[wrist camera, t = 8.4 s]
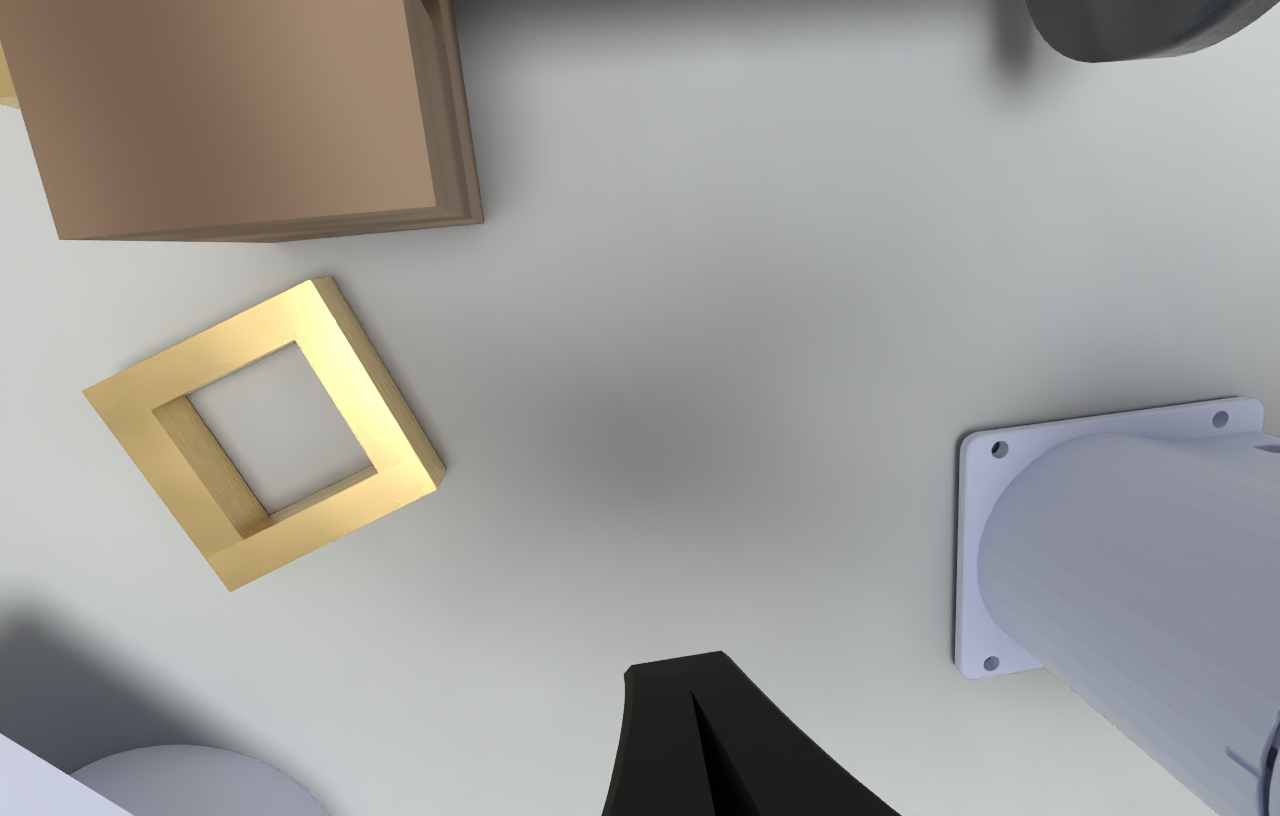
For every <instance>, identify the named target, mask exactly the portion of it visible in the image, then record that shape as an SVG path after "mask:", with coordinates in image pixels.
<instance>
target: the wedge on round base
mask: <svg viewBox="0 0 1280 816" xmlns="http://www.w3.org/2000/svg"><path fill="white" fill-rule="evenodd" d="M0 816H329V815H328V813H327V812H326V810H325V809H324V808H323V806H322V805H321V804H320V802H319V801H318V800H317V799H316V798H315V797H314V796H313V795H312V794H311V793H310V792H309V791H308V790H307V789H306V788H304V787H303V786H302V785H300V784H299V783H298V782H297V781H295V780H294V779H293V778H291V777H290V776H288V775H287V774H285V773H283V772H281V771H280V770H278V769H276V768H275V767H273V766H271V765H269V764H266V763H264V762H262V761H259V760H257V759H255V758H252V757H249V756H246V755H243V754H239V753H236V752H233V751H229V750H224V749H219V748H213V747H208V746H196V745H158V746H151V747H144V748H137V749H132V750H129V751H125V752H121V753H117V754H113V755H110V756H108V757H105V758H103V759H100V760H98V761H95V762H92V763H90V764H88V765H87V766H85V767H83V768H81V769H79V770H77V771H75V772H74V773H72V774H70V775H67V774H66V773H64V772H62V771H61V770H59V769H57V768H56V767H54V766H53V765H51V764H49V763H48V762H46V761H44V760H43V759H41V758H40V757H38V756H36V755H35V754H33V753H31V752H30V751H28V750H27V749H25V748H23V747H22V746H20V745H18V744H17V743H15V742H14V741H12V740H10V739H9V738H7V737H5V736H4V735H2V734H1V733H0Z"/></svg>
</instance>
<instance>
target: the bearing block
mask: <svg viewBox="0 0 1280 816" xmlns="http://www.w3.org/2000/svg"><path fill="white" fill-rule="evenodd" d="M0 41H1V45H2V48H3V52H4V55H5V58H6V62H7V65H8V68H9V72H10V75H11V78H12V82H13V85H14V89H15V92H16V95H17V99H18V102H19V105H20V109H21V112H22V116H23V119H24V122H25V126H26V129H27V132H28V136H29V139H30V142H31V146H32V149H33V153H34V156H35V159H36V163H37V166H38V169H39V173H40V176H41V180H42V183H43V186H44V190H45V193H46V196H47V200H48V203H49V207H50V210H51V213H52V217H53V220H54V223H55V227H56V230H57V233H58V237H59V240H113V241H182V242H251V243H276V242H287V241H297V240H308V239H319V238H330V237H341V236H352V235H362V234H373V233H384V232H395V231H406V230H417V229H427V228H438V227H449V226H460V225H471V224H482V223H484V218H483V211H482V204H481V197H480V190H479V183H478V176H477V170H476V163H475V156H474V149H473V142H472V135H471V128H470V121H469V114H468V108H467V101H466V94H465V87H464V80H463V73H462V66H461V59H460V53H459V46H458V39H457V32H456V25H455V18H454V11H453V4H452V0H0Z"/></svg>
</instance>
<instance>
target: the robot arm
mask: <svg viewBox="0 0 1280 816" xmlns="http://www.w3.org/2000/svg"><path fill="white" fill-rule="evenodd" d="M1215 415H1216V416H1215ZM1214 416H1215V419H1214V420H1213V418H1214ZM1263 419H1264V406H1263V404H1262V403H1261V402H1260V401H1259V400H1257V399H1254V398H1249V397H1234V398H1227V399H1219V400H1212V401H1204V402H1197V403H1189V404H1182V405H1175V406H1167V407H1160V408H1152V409H1145V410H1137V411H1130V412H1122V413H1115V414H1107V415H1100V416H1092V417H1085V418H1077V419H1070V420H1062V421H1055V422H1047V423H1040V424H1032V425H1025V426H1017V427H1010V428H1002V429H995V430H987V431H980V432H975V433H972V434H970V435H969V436H967V437H966V438H965V439H964V441H963V442H962V444H961V448H960V470H959V511H958V553H957V594H956V636H955V665H956V668H957V669H958V671H959V672H960V673H961V674H962V675H963V676H964V677H966V678H968V679H980V678H985V677H991V676H997V675H1003V674H1008V673H1014V672H1020V671H1026V670H1031V669H1037V668H1043V667H1045V668H1047V669H1048V670H1049V671H1050V672H1051V673H1052V674H1054V675H1055V676H1056V677H1057V678H1058V679H1060V680H1061V681H1062V682H1063V683H1064V684H1065V685H1067V686H1068V687H1069V688H1070V689H1071V690H1072V691H1074V692H1075V693H1076V694H1077V695H1078V696H1080V697H1081V698H1082V699H1083V700H1084V701H1085V702H1087V703H1088V704H1089V705H1090V706H1091V707H1092V708H1094V709H1095V710H1096V711H1097V712H1098V713H1100V714H1101V715H1102V716H1103V717H1104V718H1105V719H1107V720H1108V721H1109V722H1110V723H1111V724H1112V725H1114V726H1115V727H1116V728H1117V729H1118V730H1120V731H1121V732H1122V733H1123V734H1124V735H1125V736H1127V737H1128V738H1129V739H1130V740H1131V741H1132V742H1134V743H1135V744H1136V745H1137V746H1138V747H1140V748H1141V749H1142V750H1143V751H1144V752H1145V753H1147V754H1148V755H1149V756H1150V757H1151V758H1152V759H1154V760H1155V761H1156V762H1157V763H1158V764H1160V765H1161V766H1162V767H1163V768H1164V769H1165V770H1167V771H1168V772H1169V773H1170V774H1171V775H1172V776H1174V777H1175V778H1176V779H1177V780H1178V781H1180V782H1181V783H1182V784H1183V785H1184V786H1185V787H1187V788H1188V789H1189V790H1190V791H1191V792H1192V793H1194V794H1195V795H1196V796H1197V797H1198V798H1200V799H1201V800H1202V801H1203V802H1204V803H1205V804H1207V805H1208V806H1209V807H1210V808H1211V809H1212V810H1214V811H1215V812H1216V813H1217V814H1218V815H1220V816H1280V437H1278V436H1274V435H1270V434H1266V433H1263V432H1262V427H1263ZM1212 420H1213V422H1212ZM996 442H999V443H1000V446H999V449H998V450H997V451H996V452H995V453H993V454H992V452H991V450H992V447H993V445H994V444H995V443H996ZM989 657H991V658H990V660H989V661H988V662H986V663H984V662H985V660H986V659H987V658H989ZM624 681H625V704H624V714H623V721H622V728H621V734H620V741H619V745H618V750H617V755H616V759H615V764H614V768H613V773H612V778H611V782H610V787H609V791H608V795H607V798H606V802H605V805H604V809H603V812H602V816H901V815H900V814H899V813H897V812H896V811H895V810H894V809H892V808H891V807H890V806H889V805H887V804H886V803H885V802H884V801H882V800H881V799H880V798H879V797H878V796H876V795H875V794H874V793H873V792H871V791H870V790H869V789H868V788H867V787H865V786H864V785H863V784H862V783H860V782H859V781H858V780H857V779H856V778H854V777H853V776H852V775H851V774H850V773H849V772H847V771H846V770H845V769H844V768H843V767H842V766H841V765H839V764H838V763H837V762H836V761H835V760H834V759H832V758H831V757H830V756H829V755H828V754H827V753H826V752H825V751H824V750H823V749H822V748H820V747H819V746H818V745H817V744H816V743H815V742H814V741H813V740H812V739H811V738H809V737H808V736H807V735H806V734H805V733H804V732H803V731H802V730H801V729H800V728H799V727H797V726H796V725H795V724H794V723H793V722H792V721H791V720H790V719H789V718H788V717H787V716H786V715H785V714H784V713H783V712H782V711H781V710H780V709H779V708H778V707H777V706H776V705H775V704H774V703H773V702H772V701H771V700H770V699H769V698H768V697H767V696H766V695H765V694H764V693H763V692H762V691H761V690H760V689H759V688H758V687H757V686H756V685H755V684H754V683H753V682H752V681H751V680H750V679H749V678H748V677H747V675H746V674H745V673H744V672H743V671H742V670H741V669H740V668H739V667H738V666H737V665H736V664H735V663H734V661H733V660H732V659H731V658H730V657H729V656H727V655H726V654H725V653H724V652H722V651H716V652H710V653H704V654H697V655H691V656H685V657H679V658H673V659H667V660H661V661H654V662H648V663H642V664H636V665H631V666H630V667H629V669H628V670H627V671H626V672H625V673H624Z"/></svg>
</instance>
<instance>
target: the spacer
mask: <svg viewBox="0 0 1280 816" xmlns="http://www.w3.org/2000/svg"><path fill="white" fill-rule="evenodd" d="M294 342H297V344H298V346H299V347H300V349H301V350H302V352H303V354H304V355H305V357H306V358H307V360H308V361H309V363H310V365H311V366H312V368H313V369H314V371H315V373H316V374H317V376H318V377H319V379H320V381H321V382H322V384H323V385H324V387H325V388H326V390H327V392H328V393H329V395H330V396H331V398H332V400H333V401H334V403H335V404H336V406H337V408H338V409H339V411H340V412H341V414H342V416H343V417H344V419H345V420H346V422H347V423H348V425H349V427H350V428H351V430H352V431H353V433H354V435H355V436H356V438H357V439H358V441H359V443H360V444H361V446H362V447H363V449H364V451H365V452H366V454H367V455H368V457H369V458H370V460H371V462H372V463H373V465H371V466H369V467H367V468H365V469H363V470H361V471H359V472H357V473H355V474H353V475H351V476H349V477H347V478H345V479H343V480H341V481H339V482H337V483H335V484H333V485H331V486H329V487H326V488H324V489H322V490H320V491H318V492H316V493H314V494H312V495H310V496H308V497H306V498H304V499H302V500H300V501H298V502H296V503H294V504H292V505H290V506H288V507H286V508H284V509H282V510H280V511H278V512H276V513H274V514H272V515H270V516H268V514H267V513H266V511H265V510H264V509H263V507H262V506H261V504H260V503H259V501H258V500H257V498H256V497H255V496H254V494H253V493H252V491H251V490H250V488H249V487H248V486H247V484H246V483H245V481H244V480H243V478H242V477H241V475H240V474H239V473H238V471H237V470H236V468H235V467H234V465H233V464H232V462H231V461H230V460H229V458H228V457H227V455H226V454H225V452H224V451H223V450H222V448H221V447H220V445H219V444H218V442H217V441H216V439H215V438H214V437H213V435H212V434H211V432H210V431H209V429H208V428H207V426H206V425H205V424H204V422H203V421H202V419H201V418H200V416H199V415H198V413H197V412H196V411H195V409H194V408H193V406H192V405H191V403H190V402H189V401H188V399H187V398H186V395H188V394H190V393H192V392H195V391H197V390H199V389H201V388H203V387H205V386H207V385H209V384H211V383H213V382H215V381H217V380H219V379H221V378H223V377H225V376H227V375H229V374H231V373H233V372H235V371H237V370H239V369H241V368H243V367H245V366H247V365H250V364H252V363H254V362H256V361H258V360H260V359H262V358H264V357H266V356H268V355H270V354H272V353H274V352H276V351H278V350H280V349H282V348H284V347H286V346H288V345H290V344H292V343H294ZM82 393H83V394H84V395H85V397H86V398H87V399H88V401H89V402H90V403H91V405H92V406H93V407H94V409H95V410H96V411H97V413H98V414H99V415H100V417H101V418H102V420H103V421H104V422H105V424H106V425H107V426H108V428H109V429H110V430H111V432H112V433H113V434H114V436H115V437H116V438H117V440H118V441H119V443H120V444H121V445H122V447H123V448H124V449H125V451H126V452H127V453H128V455H129V456H130V457H131V459H132V460H133V461H134V463H135V464H136V466H137V467H138V468H139V470H140V471H141V472H142V474H143V475H144V476H145V478H146V479H147V480H148V482H149V483H150V484H151V486H152V487H153V489H154V490H155V491H156V493H157V494H158V495H159V497H160V498H161V499H162V501H163V502H164V503H165V505H166V506H167V507H168V509H169V510H170V512H171V513H172V514H173V516H174V517H175V518H176V520H177V521H178V522H179V524H180V525H181V526H182V528H183V529H184V530H185V532H186V533H187V534H188V536H189V537H190V539H191V540H192V541H193V543H194V544H195V545H196V547H197V548H198V549H199V551H200V552H201V553H202V555H203V556H204V557H205V559H206V560H207V562H208V563H209V564H210V566H211V567H212V568H213V570H214V571H215V572H216V574H217V575H218V576H219V578H220V579H221V580H222V582H223V583H224V585H225V586H226V587H227V589H228V590H229V591H230V592H231V591H233V590H235V589H237V588H239V587H241V586H243V585H245V584H247V583H249V582H251V581H253V580H256V579H258V578H260V577H262V576H264V575H266V574H268V573H270V572H272V571H274V570H276V569H278V568H280V567H282V566H284V565H286V564H288V563H290V562H292V561H294V560H296V559H298V558H300V557H302V556H304V555H306V554H308V553H310V552H312V551H314V550H316V549H318V548H320V547H322V546H324V545H326V544H328V543H330V542H332V541H334V540H336V539H338V538H340V537H342V536H344V535H346V534H348V533H350V532H352V531H354V530H356V529H358V528H360V527H362V526H364V525H366V524H368V523H371V522H373V521H375V520H377V519H379V518H381V517H383V516H385V515H387V514H389V513H391V512H393V511H395V510H397V509H399V508H401V507H403V506H405V505H407V504H409V503H411V502H413V501H415V500H417V499H419V498H421V497H423V496H425V495H427V494H429V493H431V492H433V491H435V490H437V489H438V487H439V485H440V483H441V480H442V478H443V476H444V474H445V472H446V468H445V466H444V465H443V463H442V461H441V460H440V458H439V456H438V455H437V453H436V451H435V450H434V448H433V446H432V445H431V443H430V441H429V440H428V438H427V436H426V435H425V433H424V431H423V430H422V428H421V426H420V425H419V423H418V421H417V419H416V418H415V416H414V414H413V413H412V411H411V409H410V408H409V406H408V404H407V403H406V401H405V399H404V398H403V396H402V394H401V393H400V391H399V389H398V388H397V386H396V384H395V383H394V381H393V379H392V378H391V376H390V374H389V373H388V371H387V369H386V367H385V366H384V364H383V362H382V361H381V359H380V357H379V356H378V354H377V352H376V351H375V349H374V347H373V346H372V344H371V342H370V341H369V339H368V337H367V336H366V334H365V332H364V331H363V329H362V327H361V326H360V324H359V322H358V321H357V319H356V317H355V315H354V314H353V312H352V310H351V309H350V307H349V305H348V304H347V302H346V300H345V299H344V297H343V295H342V294H341V292H340V290H339V289H338V287H337V285H336V284H335V282H334V280H333V279H332V277H324V278H316V279H310V280H308V281H306V282H304V283H301V284H299V285H297V286H295V287H293V288H291V289H289V290H287V291H285V292H283V293H281V294H279V295H277V296H275V297H273V298H271V299H269V300H267V301H265V302H263V303H261V304H259V305H257V306H255V307H252V308H250V309H248V310H246V311H244V312H242V313H240V314H238V315H236V316H234V317H232V318H230V319H228V320H226V321H224V322H222V323H220V324H218V325H216V326H214V327H212V328H210V329H208V330H206V331H203V332H201V333H199V334H197V335H195V336H193V337H191V338H189V339H187V340H185V341H183V342H181V343H179V344H177V345H175V346H173V347H171V348H169V349H167V350H165V351H163V352H161V353H159V354H157V355H154V356H152V357H150V358H148V359H146V360H144V361H142V362H140V363H138V364H136V365H134V366H132V367H130V368H128V369H126V370H124V371H122V372H120V373H118V374H116V375H114V376H112V377H110V378H107V379H105V380H103V381H101V382H99V383H97V384H95V385H93V386H91V387H89V388H87V389H85V390H83V391H82Z"/></svg>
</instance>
